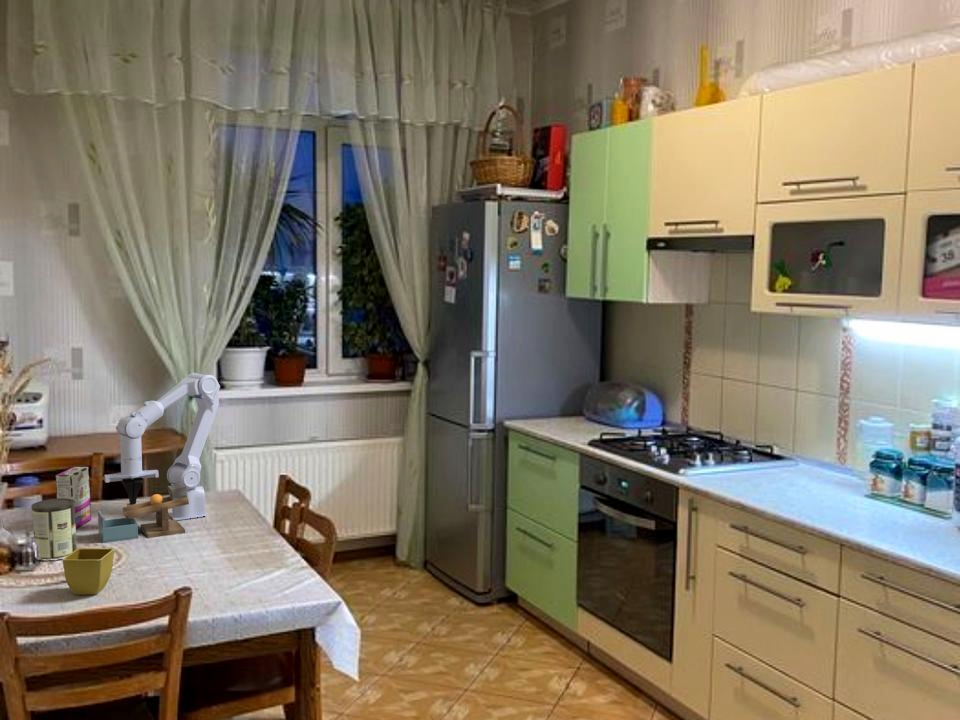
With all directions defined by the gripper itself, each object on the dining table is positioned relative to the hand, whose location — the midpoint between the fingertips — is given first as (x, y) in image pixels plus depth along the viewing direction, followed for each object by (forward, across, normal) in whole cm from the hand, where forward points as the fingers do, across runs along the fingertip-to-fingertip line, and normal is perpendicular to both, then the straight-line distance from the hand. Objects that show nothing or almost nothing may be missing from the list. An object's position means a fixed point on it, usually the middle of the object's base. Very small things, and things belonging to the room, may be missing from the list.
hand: (132, 503), depth 259 cm
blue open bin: (+7, -5, -8) cm, 12 cm away
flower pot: (+7, -18, -52) cm, 55 cm away
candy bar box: (+7, -14, +12) cm, 20 cm away
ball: (-2, +5, -8) cm, 9 cm away
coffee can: (+7, -22, -18) cm, 29 cm away
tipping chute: (0, +5, -5) cm, 7 cm away
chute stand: (+7, +7, -8) cm, 12 cm away
